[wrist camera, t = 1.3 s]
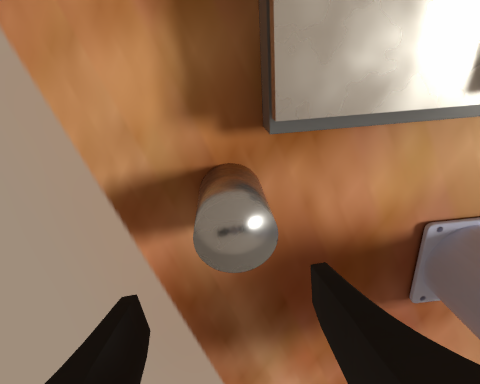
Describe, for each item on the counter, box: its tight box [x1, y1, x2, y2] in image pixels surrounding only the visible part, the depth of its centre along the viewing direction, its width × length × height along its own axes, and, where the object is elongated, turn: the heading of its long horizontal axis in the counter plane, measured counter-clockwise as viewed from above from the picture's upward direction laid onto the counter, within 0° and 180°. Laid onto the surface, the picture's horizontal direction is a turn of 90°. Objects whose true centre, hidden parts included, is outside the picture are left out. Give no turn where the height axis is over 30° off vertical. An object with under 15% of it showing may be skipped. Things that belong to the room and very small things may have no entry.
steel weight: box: [193, 163, 278, 273], centre depth 17 cm, size 4×4×6 cm
